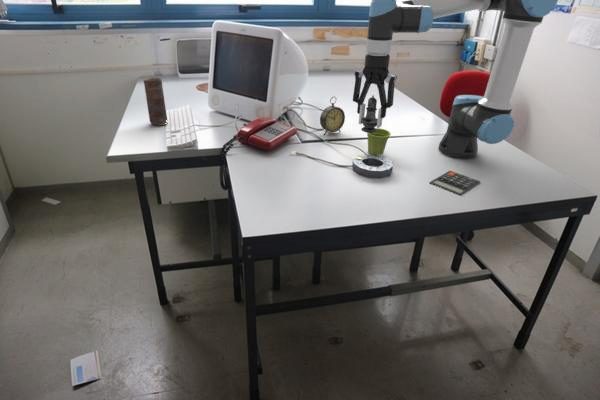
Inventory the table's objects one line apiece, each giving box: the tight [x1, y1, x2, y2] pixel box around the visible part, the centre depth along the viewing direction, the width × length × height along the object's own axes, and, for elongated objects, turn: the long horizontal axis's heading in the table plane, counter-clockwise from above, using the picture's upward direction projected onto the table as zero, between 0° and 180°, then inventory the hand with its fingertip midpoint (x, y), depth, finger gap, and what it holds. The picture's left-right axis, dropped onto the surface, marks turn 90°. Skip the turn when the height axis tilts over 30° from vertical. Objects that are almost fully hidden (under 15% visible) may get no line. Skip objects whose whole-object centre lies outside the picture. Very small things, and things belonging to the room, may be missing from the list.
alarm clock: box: [319, 96, 346, 136], centre depth 177 cm, size 11×5×16 cm, turn 123°
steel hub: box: [351, 154, 394, 180], centre depth 148 cm, size 14×14×3 cm
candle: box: [143, 76, 168, 126], centre depth 176 cm, size 8×7×20 cm
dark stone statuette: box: [361, 94, 378, 134], centre depth 136 cm, size 6×6×12 cm
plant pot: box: [366, 127, 391, 156], centre depth 161 cm, size 9×9×9 cm
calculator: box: [429, 170, 481, 196], centre depth 143 cm, size 12×1×15 cm
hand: (370, 124), depth 138 cm, fingers closed on dark stone statuette, 6 cm apart
